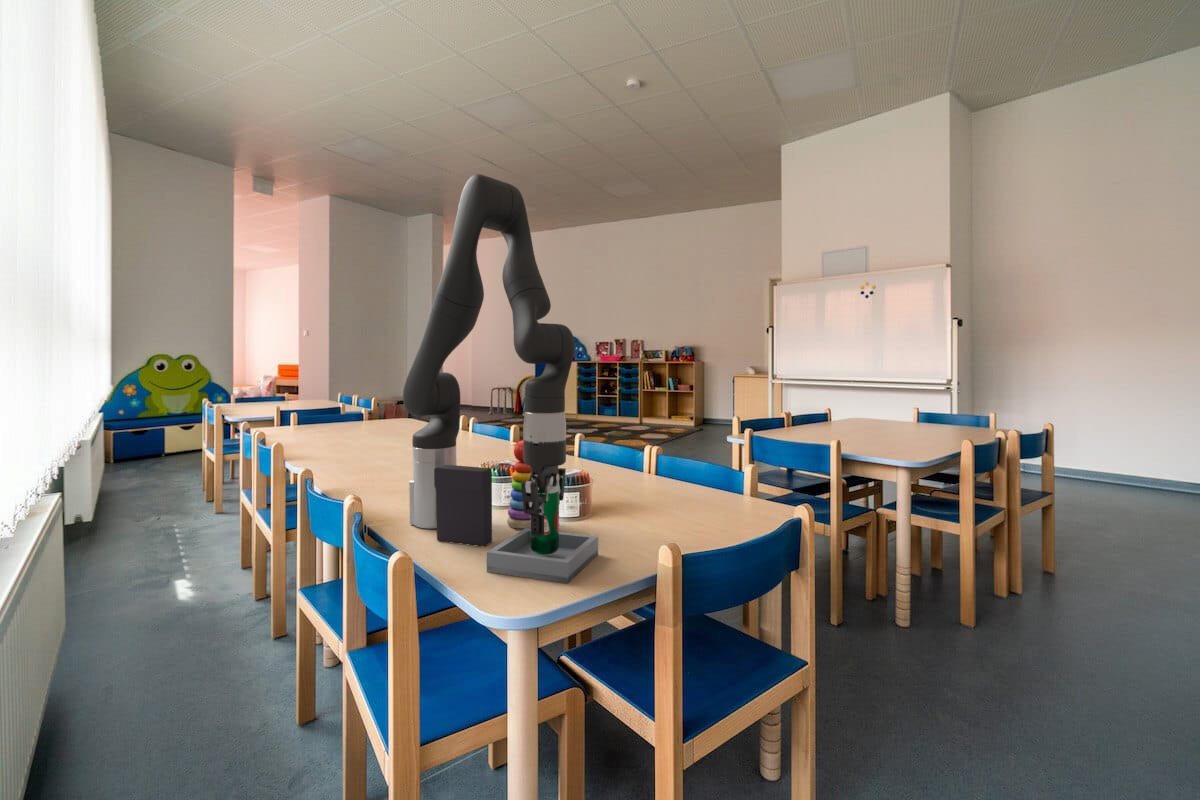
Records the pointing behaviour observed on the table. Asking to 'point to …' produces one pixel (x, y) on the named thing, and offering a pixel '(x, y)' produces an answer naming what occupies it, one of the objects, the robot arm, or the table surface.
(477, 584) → the table surface
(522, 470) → the stacking toy
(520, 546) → the tray
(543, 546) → the soda can
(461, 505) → the black upright block
